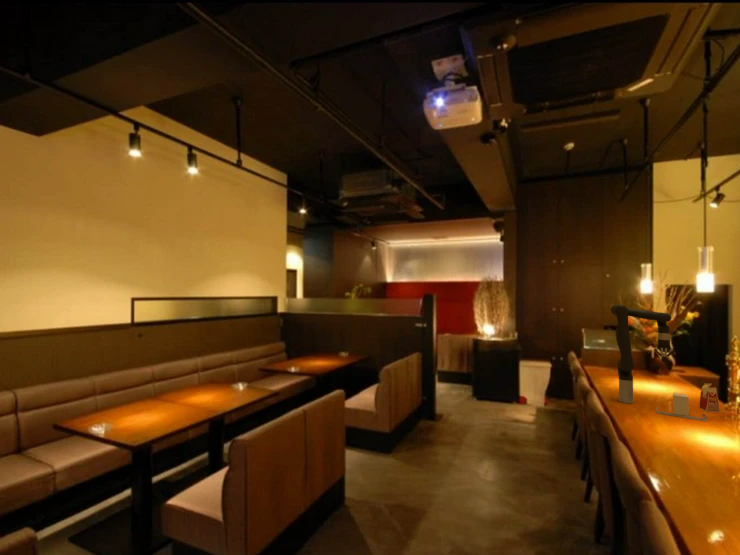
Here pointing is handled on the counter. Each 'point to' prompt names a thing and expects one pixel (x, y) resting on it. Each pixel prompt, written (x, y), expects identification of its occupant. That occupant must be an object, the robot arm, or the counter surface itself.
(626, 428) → the counter surface
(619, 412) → the counter surface
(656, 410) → the metal staple
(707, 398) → the milk carton
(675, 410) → the carton
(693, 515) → the counter surface
